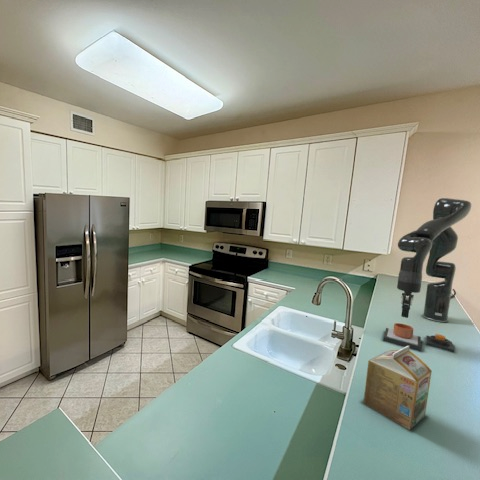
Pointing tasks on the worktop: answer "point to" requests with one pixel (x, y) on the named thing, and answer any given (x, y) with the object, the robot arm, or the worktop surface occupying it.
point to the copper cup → (403, 330)
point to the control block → (439, 343)
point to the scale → (402, 340)
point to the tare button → (440, 337)
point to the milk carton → (398, 386)
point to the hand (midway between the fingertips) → (404, 314)
